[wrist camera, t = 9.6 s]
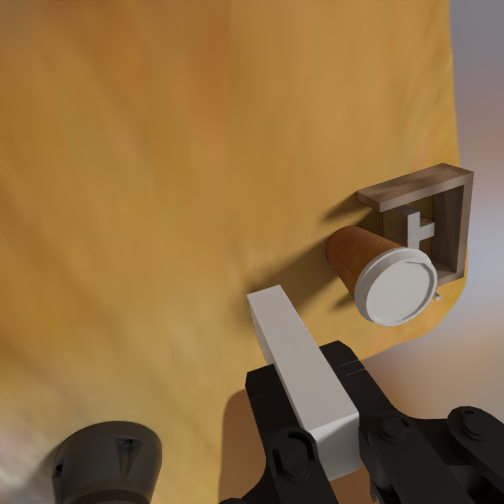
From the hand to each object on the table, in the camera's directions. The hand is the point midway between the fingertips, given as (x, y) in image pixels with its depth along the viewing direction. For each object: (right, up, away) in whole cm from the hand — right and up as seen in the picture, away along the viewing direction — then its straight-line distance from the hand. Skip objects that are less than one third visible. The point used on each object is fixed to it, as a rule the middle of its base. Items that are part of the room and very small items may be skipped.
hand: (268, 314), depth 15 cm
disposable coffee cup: (+12, +4, +32) cm, 35 cm away
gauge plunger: (+20, +6, +33) cm, 39 cm away
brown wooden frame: (+21, +6, +33) cm, 40 cm away
